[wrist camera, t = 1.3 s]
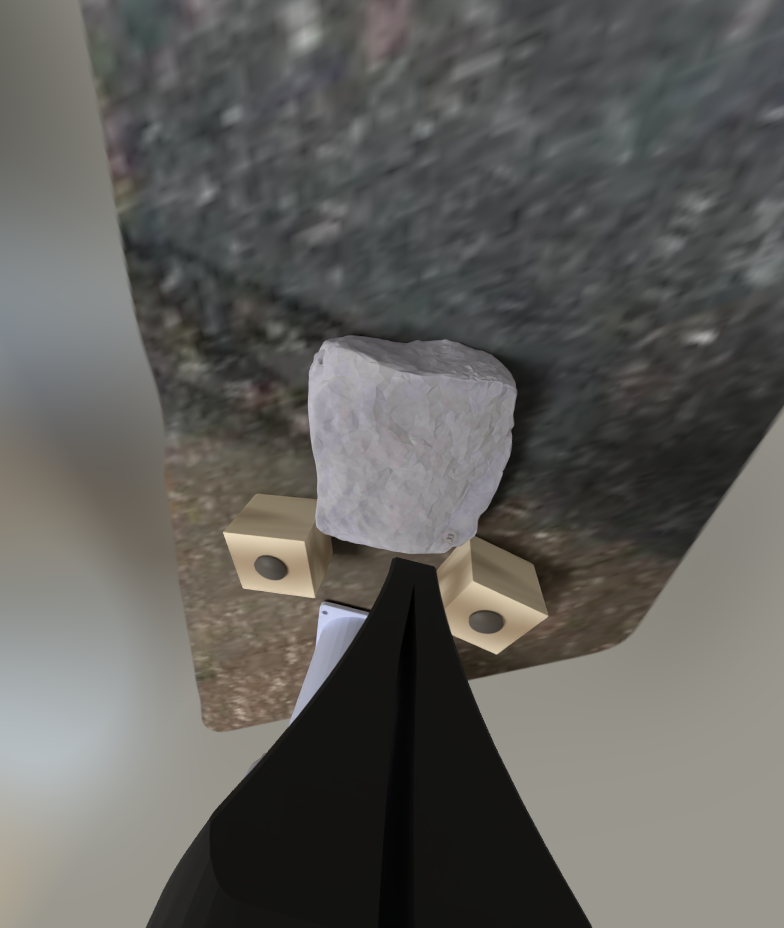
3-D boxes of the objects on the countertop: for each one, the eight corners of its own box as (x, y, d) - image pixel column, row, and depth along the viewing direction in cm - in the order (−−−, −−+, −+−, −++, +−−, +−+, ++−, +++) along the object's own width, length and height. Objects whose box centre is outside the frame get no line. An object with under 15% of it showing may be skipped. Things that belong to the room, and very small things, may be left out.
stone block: (509, 337, 17) (314, 324, 16) (552, 364, 13) (294, 350, 12) (465, 510, 23) (325, 507, 22) (484, 564, 19) (314, 563, 18)
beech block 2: (489, 601, 24) (497, 657, 21) (431, 574, 24) (429, 627, 20) (533, 562, 22) (549, 619, 18) (469, 531, 21) (473, 584, 18)
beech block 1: (333, 552, 24) (313, 600, 21) (270, 545, 25) (241, 590, 21) (326, 499, 22) (302, 543, 18) (257, 492, 22) (220, 534, 19)
